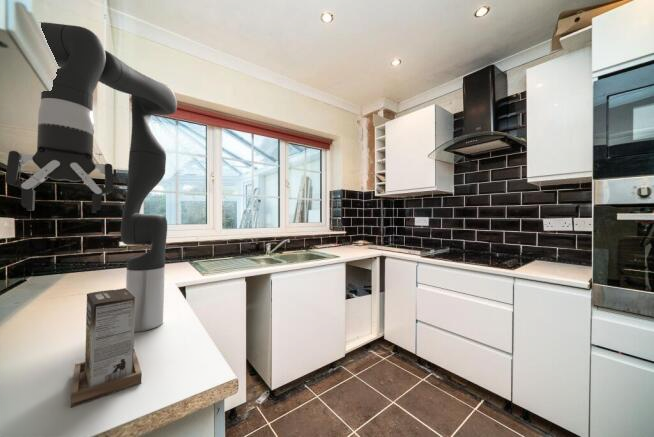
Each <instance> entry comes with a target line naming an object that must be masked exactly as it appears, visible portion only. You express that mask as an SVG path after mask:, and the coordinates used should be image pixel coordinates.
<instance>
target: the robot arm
mask: <svg viewBox="0 0 654 437" xmlns="http://www.w3.org/2000/svg"><path fill="white" fill-rule="evenodd" d="M40 23H41V28H42V31H43V33H44V35H45V38H46V40H47V43H48V45H49V47H50V49H51V51H52V53H53V55H54V57H55V60H56V62H57V64H58V66H59V67H58V66H57V67H58V68H56V69H57V72H56V74H57V76H56V78H55V79H54V80H53V87H52V90H51V91H43V92H41V91H40V92H41V93H40V103H39V108H38V113H37V114H38V117H37V118H38V119H37V139H36V140H37V142H36V143H37V144H36V152H35V153H34V154H33V155H32V154H28V153H20V152H18V151H17V150H10V151H9V152H8V156H7V163H6V171H5V172H6V173H5V176H4V177H5V178H4V182H5V183H6V184H7V185H10V186H14V187H17V188H19V189H20V191H21V199H20V205H21V206H22V208H26V211H35V210H36V209H35V203H36V190H34V189H35V188H36V187H37V186H39V185H40V184H42V183H43V182H45V181H46V180H48V179H49V178H50V179H51V180H53V181H68V182H73V183H77V182H81V181H82V182H83V183H84V184H85V186H87V187H88V188H89V189H90V190H91V192H93V193H92V196H91V198H92V199H91V214H92V213H95V214H97V211H100V210H101V208H102V197H103V196H102V195H104V194H109V193H112V192H113V191H114V175H113V165H112V164H111V163H105V164H104V163H95V162H94V160H93V158H94V156H93V155H94V134H95V129H94V126H95V125H94V124H95V123H94V117H93V114H94V113H93V110H94V109H93V108H94V107H93V104H94V92H95V90H96V88H97V86H98V83H101V84H103V85H105V86H107V87H109V88H111V89H113V90H115V91H118V92H121V93H124V94H128V95H131V96H130V97H131V135H130V136H131V137H130V147H129V152H128V153H129V155H128V170H127V171H128V172H127V173H128V174H127V187H126V194H125V195H126V196H125V200H124V206H123V212H122V216H121V223H120V239H121V241H122V243H123V244H124V245H127V246H147V245H148V246H149V245H150V246H151V248H150V249H149V250H148V251H146V252H145V253H142V254H140V255H137V256H136V255H135V256H133V257H131V258H128V260H127V261H126V273H125V274H126V276H125V277H126V278H125V288H126V289H127V290H128V291H129V292H130V293H131V294H132V295H133V296H134V297H135V324H134V333H136V332H138V333H139V332H143V331H144V332H146V331H149V330H152V329H155V328H157V327H160V326H161V325H162V324H163V323H164V307H165V306H164V302H165V300H164V299H165V272H166V271H165V270H166V269H165V268H166V248H167V247H166V245H167V235H168V220H167V218H166V216H165V215H163V214H157V213H140V211H141V208H142V205H143V203H144V201H145V200H146V198H147V196H148V195H149V194H150V193H151V192H152V191H153V189H154V188H156V187H157V185H158V184H159V183H160V182H161V181H162V179H163V178H164V176H165V174H166V162H167V154H166V150H165V148H164V147H163V144H161V142H160V141H159V139H158V137H157V136H156V135H155V132H154V131H153V129H152V124H151V116H152V115H156V116H158V115H159V116H161V115H162V116H169V115H173V114H175V113H176V111H177V108H178V101H177V97H176V95H175V93H174V91H173V89H172V88H171V87H170V86H169V85H167V84H164V83H163V82H160V81H158V80H155V79H153V78H151V77H149V76H147V75H145V74H143V73H141V72H139V71H138V70H136V69H135V68H132V67H131V66H129V65H128V64H126V63H125V62H124V61H122V60H121V59H119V58H118V57H117V56H115V55H114V54H112V53H111V52H109V51H107V50H105V47H104V45H103V43H102V41H101V40H100V38H99V37H98V35H96V34H95V33H94V32H93V31H92V30H90V29H89V28H86V27H83V26H79V25H73V24H72V25H71V24H63V23H54V22H46V21H43V22H40ZM29 162H33V163H34V164H35V165H36V166H37V167H38V168H39V170H37V172H35V173H34V174H32V175H31V176H30V177H29V178H28V179H27V180H25V181H23V180H20V178H21V172H22V167H23V166H27V165H28V164H29ZM95 170H98V171H99V174H101V175H103V176H104V184H105V185H104V187H99V185H98V184H96V182H95V180H93V178H91V177H90V174H91V173H92V172H93V171H95Z"/></svg>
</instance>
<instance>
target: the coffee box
mask: <svg viewBox="0 0 654 437" xmlns="http://www.w3.org/2000/svg"><path fill="white" fill-rule="evenodd" d="M85 318H86V319H85V321H86V323H85V325H86V326H85V350H84V351H85V354H84V355H85V356H84V358H85V359H84V362H85V374H86V378H87V382H88V386H89V388H90V387H93V386H96V385H99V384H102V383H105V382H108V381H111V380H115V379H118V378H121V377H124V376H127V375H130V374H132V371H133V349H134V347H135V346H134V345H135V344H134V343H135V342H134V341H135V332H134V324H135V297H134V296H133V295H132V294H131V293H130V292H129V291H128V290H127V289H126V287H125V288H117V289H108V290H101V291H94V292H89V293H88V292H87V293H86V316H85Z"/></svg>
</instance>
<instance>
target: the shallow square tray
mask: <svg viewBox="0 0 654 437" xmlns="http://www.w3.org/2000/svg"><path fill="white" fill-rule="evenodd" d="M140 384H142V369H141V366H140V363H139V359H138V356H137V352H136V349H135V348H133V371H132V374H130V375H127V376H124V377H121V378H118V379H115V380H111V381H108V382H105V383H102V384H99V385H96V386H93V387H90V388H89V386H88V382H87V378H86V374H85V361H82V362H79V363H75V364H74V370H73V378H72V384H71V385H72V387H71V393H70V408H75V407H76V406H77V407H78V406H80V405H82V404H85V403H88V402H91V401H94V400H98V399H99V398H103V397H106V396H108V395H111V394H115V393H117V392H120V391H123V390H126V389H128V388H132V387H135V386H137V385H140Z"/></svg>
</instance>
